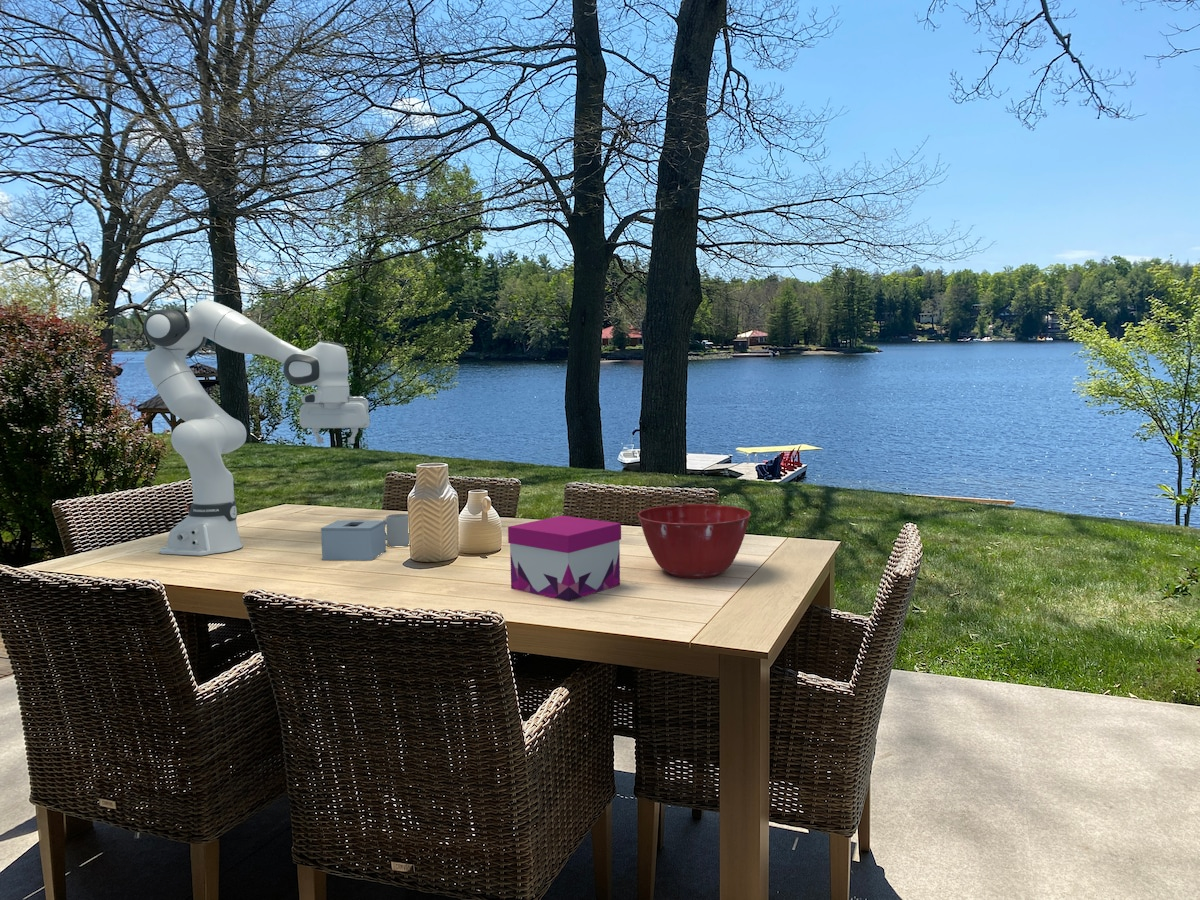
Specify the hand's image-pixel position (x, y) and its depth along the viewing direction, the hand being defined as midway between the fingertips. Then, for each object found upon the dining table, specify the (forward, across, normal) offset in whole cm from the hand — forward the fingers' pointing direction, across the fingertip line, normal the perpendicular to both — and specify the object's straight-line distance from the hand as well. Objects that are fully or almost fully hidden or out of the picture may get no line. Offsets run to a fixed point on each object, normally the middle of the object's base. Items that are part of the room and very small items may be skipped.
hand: (335, 443), depth 247 cm
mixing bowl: (+31, -104, +30) cm, 113 cm away
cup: (+31, -16, -3) cm, 35 cm away
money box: (+31, -9, +12) cm, 34 cm away
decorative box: (+31, -73, +45) cm, 91 cm away
